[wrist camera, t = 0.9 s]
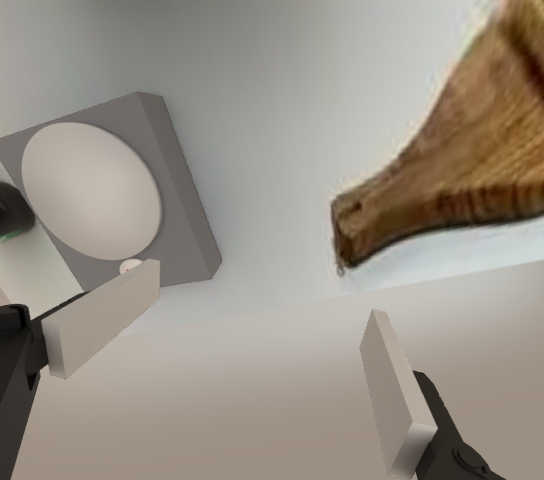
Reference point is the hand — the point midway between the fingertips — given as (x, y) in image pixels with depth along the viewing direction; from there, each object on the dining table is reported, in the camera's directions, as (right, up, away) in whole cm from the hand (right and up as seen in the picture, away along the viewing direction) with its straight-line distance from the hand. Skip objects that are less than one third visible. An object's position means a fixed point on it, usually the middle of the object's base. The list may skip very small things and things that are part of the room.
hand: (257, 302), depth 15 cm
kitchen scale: (-15, +8, +14) cm, 22 cm away
